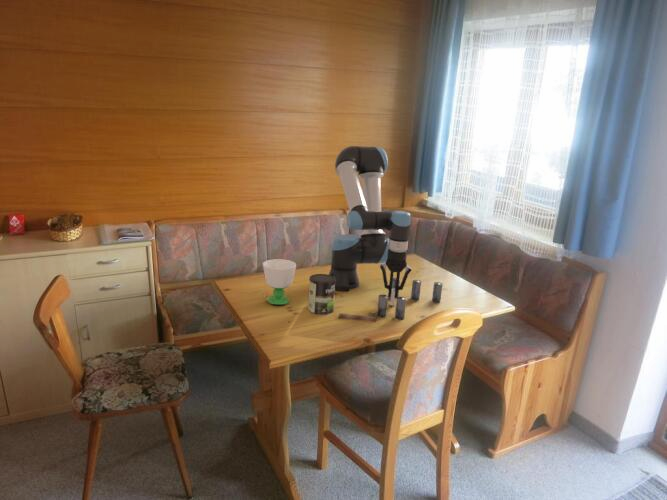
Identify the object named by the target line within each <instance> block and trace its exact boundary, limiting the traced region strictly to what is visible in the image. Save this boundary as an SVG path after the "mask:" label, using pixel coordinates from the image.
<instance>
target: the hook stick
mask: <svg viewBox="0 0 667 500" xmlns="http://www.w3.org/2000/svg"><path fill="white" fill-rule="evenodd" d="M338 319H341V320H351V321H352V320H353V321H362V322H372V323H373V322H374V323H375V322H377V321H376V320H377V312H370V316H369V315H359V314H349V313H348V314H347V313H339V315H338Z"/></svg>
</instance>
